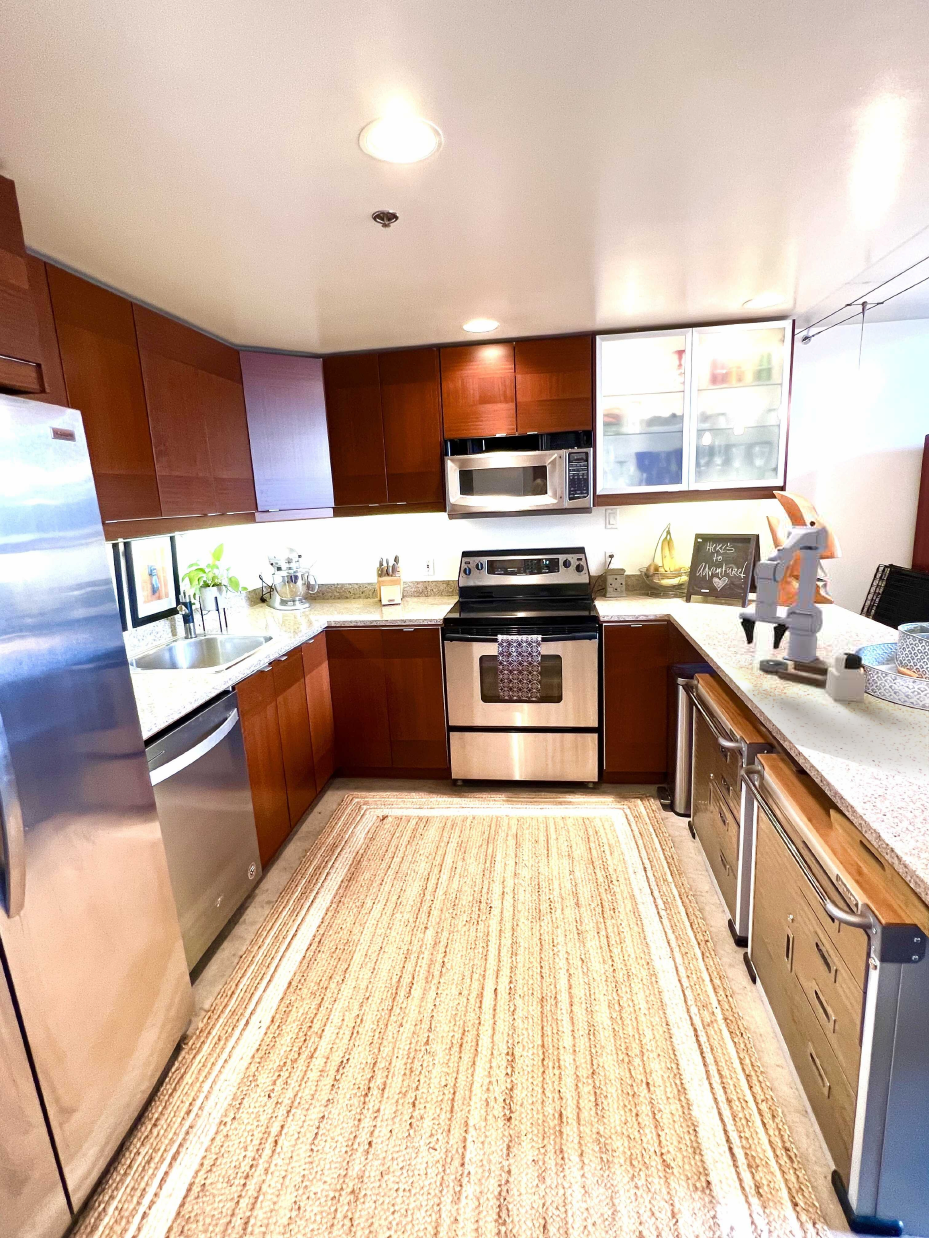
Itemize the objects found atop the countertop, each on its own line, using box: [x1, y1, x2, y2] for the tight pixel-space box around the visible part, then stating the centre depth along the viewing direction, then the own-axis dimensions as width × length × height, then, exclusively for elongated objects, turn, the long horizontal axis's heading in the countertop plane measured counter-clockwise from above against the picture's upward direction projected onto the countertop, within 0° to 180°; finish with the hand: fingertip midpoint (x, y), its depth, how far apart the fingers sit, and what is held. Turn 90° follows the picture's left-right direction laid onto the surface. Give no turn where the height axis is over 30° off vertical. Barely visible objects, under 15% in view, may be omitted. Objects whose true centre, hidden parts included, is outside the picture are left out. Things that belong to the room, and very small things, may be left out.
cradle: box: [777, 661, 829, 688], centre depth 174 cm, size 12×12×2 cm
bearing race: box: [758, 658, 789, 675], centre depth 182 cm, size 8×8×2 cm
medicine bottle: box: [825, 652, 867, 702], centre depth 157 cm, size 7×7×12 cm
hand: (762, 645), depth 173 cm, fingers open, 7 cm apart
